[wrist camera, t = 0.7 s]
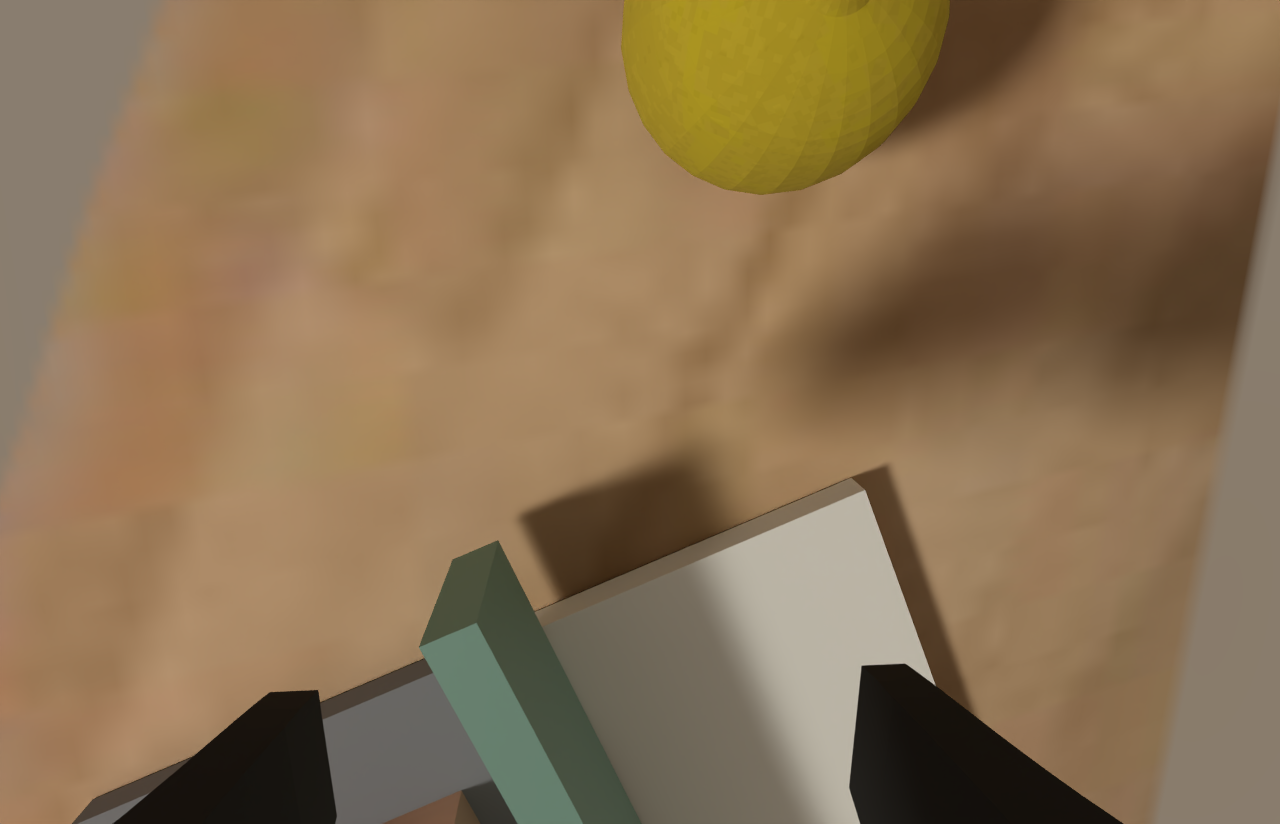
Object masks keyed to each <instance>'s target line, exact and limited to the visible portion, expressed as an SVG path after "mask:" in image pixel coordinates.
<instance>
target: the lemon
mask: <svg viewBox="0 0 1280 824" xmlns="http://www.w3.org/2000/svg"><path fill="white" fill-rule="evenodd" d="M949 12H950V0H625V1H624V11H623V27H622V44H621V50H622V56H623V61H624V67H625V72H626V78H627V84H628V89H629V92H630V95H631V97H632V99H633V102H634V104H635V106H636V109H637V111H638V113H639V116H640V118H641V120H642V123H643V125H644V126H645V128H646V129H647V130H648V132H649V133H650V134H651V136H652V137H653V138H654V140H655V141H656V142H657V144H658V145H659V146H660V148H661V149H662V150H663V152H664V153H665V154H666V155H667V156H669V157H670V158H671V159H672V160H674V161H675V162H676V163H677V164H679V165H680V166H681V167H683V168H684V169H685V170H686V171H688V172H689V173H690V174H691V175H693V176H695V177H697V178H700V179H702V180H704V181H707V182H709V183H711V184H713V185H716V186H718V187H720V188H723V189H726V190H732V191H739V192H745V193H752V194H759V195H764V194H772V193H780V192H788V191H796V190H802V189H805V188H807V187H810V186H812V185H815V184H817V183H820V182H822V181H825V180H827V179H830V178H832V177H835V176H837V175H839V174H842V173H843V172H845V171H846V170H848V169H849V168H850V167H852V166H853V165H854V164H856V163H857V162H859V161H860V160H861V159H863V158H864V157H866V156H867V155H868V154H870V153H871V152H872V151H874V150H875V149H877V148H878V147H879V146H880V145H881V144H882V143H883V142H884V141H885V140H886V139H887V138H888V136H889V135H890V134H891V133H892V132H893V131H894V129H895V128H896V127H897V126H898V125H899V123H900V122H901V121H902V120H903V119H904V117H905V116H906V115H907V114H908V113H909V112H910V110H911V109H912V108H913V107H914V105H915V104H916V102H917V100H918V98H919V96H920V94H921V92H922V90H923V89H924V87H925V85H926V83H927V81H928V79H929V77H930V75H931V73H932V71H933V69H934V67H935V65H936V63H937V61H938V57H939V53H940V49H941V46H942V42H943V38H944V34H945V31H946V27H947V23H948V19H949Z"/></svg>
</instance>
